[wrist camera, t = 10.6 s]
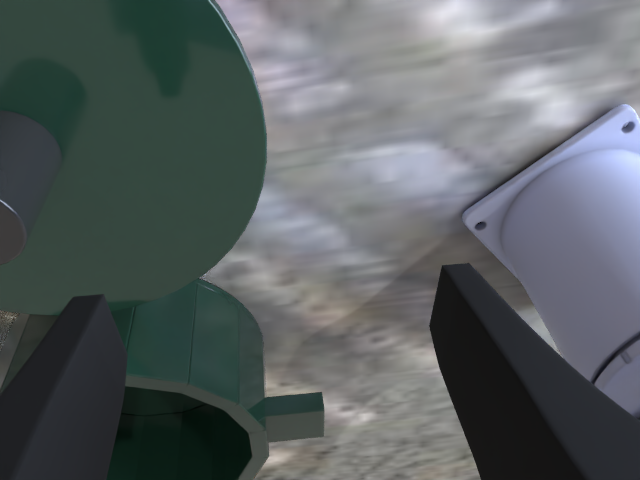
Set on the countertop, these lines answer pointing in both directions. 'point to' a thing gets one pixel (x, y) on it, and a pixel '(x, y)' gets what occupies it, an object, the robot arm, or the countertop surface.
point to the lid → (121, 149)
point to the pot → (188, 388)
